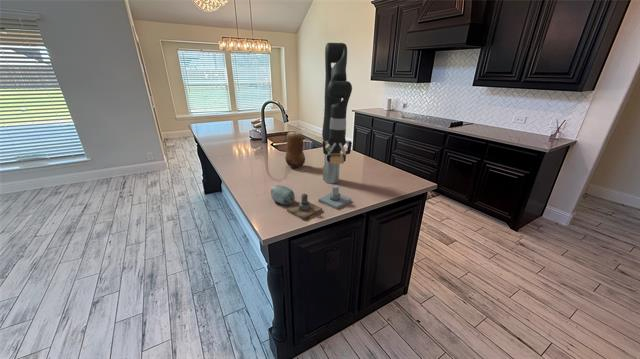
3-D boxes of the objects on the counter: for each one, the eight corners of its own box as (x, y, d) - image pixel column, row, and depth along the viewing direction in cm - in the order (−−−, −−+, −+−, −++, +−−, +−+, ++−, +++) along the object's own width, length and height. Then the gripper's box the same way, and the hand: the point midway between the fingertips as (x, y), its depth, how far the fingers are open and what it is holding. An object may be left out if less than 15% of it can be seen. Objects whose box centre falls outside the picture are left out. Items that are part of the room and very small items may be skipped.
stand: (286, 211, 120) (286, 195, 117) (304, 202, 128) (304, 187, 125) (304, 220, 112) (304, 203, 109) (322, 211, 121) (322, 195, 117)
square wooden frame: (329, 163, 119) (330, 157, 118) (329, 159, 125) (329, 153, 124) (343, 163, 119) (343, 157, 118) (341, 159, 125) (342, 153, 124)
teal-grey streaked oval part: (301, 196, 127) (291, 182, 122) (289, 210, 123) (278, 196, 118) (286, 194, 137) (275, 180, 132) (274, 206, 133) (263, 193, 128)
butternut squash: (306, 164, 183) (306, 130, 173) (303, 171, 171) (303, 134, 161) (287, 163, 184) (286, 129, 175) (283, 170, 172) (282, 133, 162)
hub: (318, 201, 130) (318, 186, 127) (333, 194, 138) (333, 179, 135) (336, 209, 122) (337, 193, 119) (351, 201, 131) (352, 186, 127)
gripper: (322, 129, 112) (321, 164, 118) (354, 129, 112) (352, 164, 119) (321, 125, 119) (321, 159, 125) (352, 126, 119) (349, 159, 126)
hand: (336, 161), depth 122 cm, fingers closed on square wooden frame, 6 cm apart
